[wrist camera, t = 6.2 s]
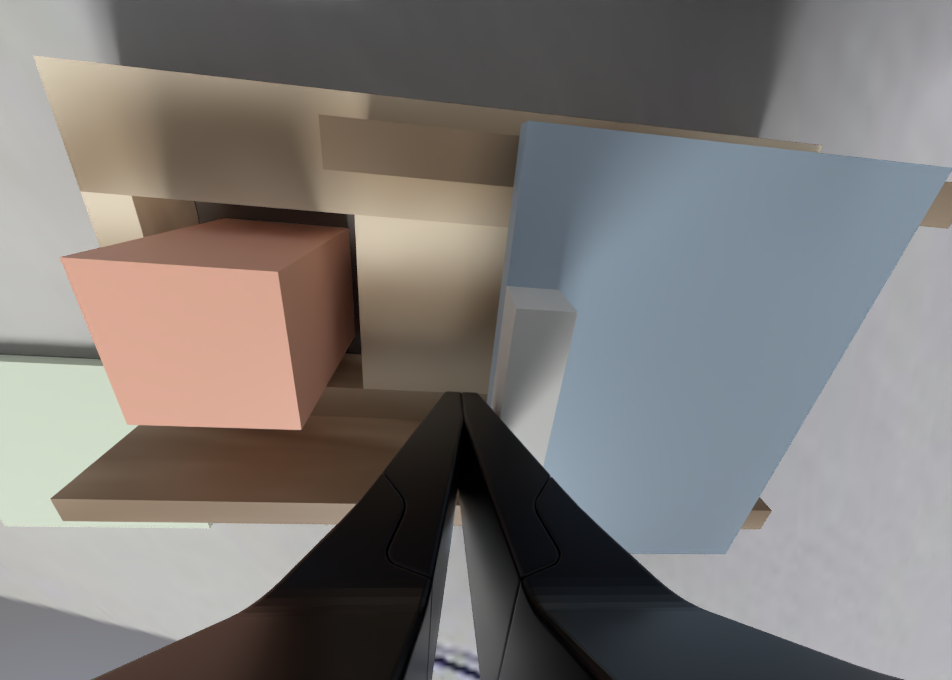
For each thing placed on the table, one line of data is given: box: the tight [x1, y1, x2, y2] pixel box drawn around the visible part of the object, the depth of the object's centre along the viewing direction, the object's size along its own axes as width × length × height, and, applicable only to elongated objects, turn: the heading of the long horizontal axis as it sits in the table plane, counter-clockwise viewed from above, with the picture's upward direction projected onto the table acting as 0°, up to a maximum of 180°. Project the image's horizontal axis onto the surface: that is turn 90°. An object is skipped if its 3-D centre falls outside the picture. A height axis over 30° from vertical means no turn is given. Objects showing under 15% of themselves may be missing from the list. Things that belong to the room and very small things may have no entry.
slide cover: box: [487, 121, 952, 554], centre depth 10 cm, size 12×9×2 cm
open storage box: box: [33, 56, 952, 529], centre depth 14 cm, size 14×24×8 cm, turn 84°
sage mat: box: [0, 355, 213, 528], centre depth 19 cm, size 11×11×1 cm
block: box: [60, 218, 355, 430], centre depth 13 cm, size 5×5×7 cm
